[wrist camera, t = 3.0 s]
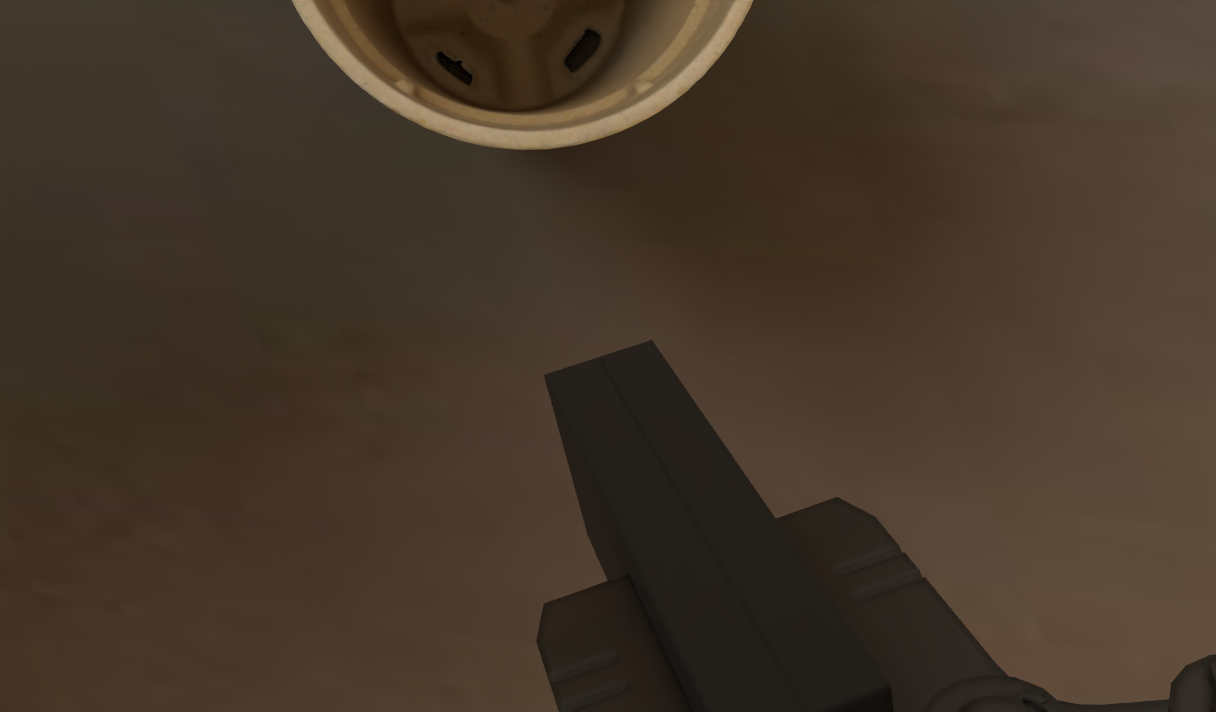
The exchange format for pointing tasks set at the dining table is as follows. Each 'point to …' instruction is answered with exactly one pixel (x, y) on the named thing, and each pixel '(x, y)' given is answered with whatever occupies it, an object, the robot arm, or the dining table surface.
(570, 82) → the flower pot
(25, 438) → the dining table surface
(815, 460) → the dining table surface
